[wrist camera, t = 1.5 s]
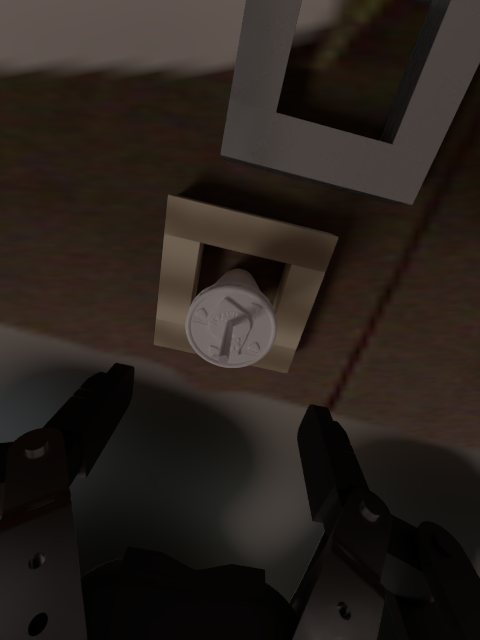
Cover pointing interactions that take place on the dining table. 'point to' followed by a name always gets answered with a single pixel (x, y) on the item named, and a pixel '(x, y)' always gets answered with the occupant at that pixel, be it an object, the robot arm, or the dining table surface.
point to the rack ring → (339, 146)
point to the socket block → (247, 237)
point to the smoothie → (231, 321)
